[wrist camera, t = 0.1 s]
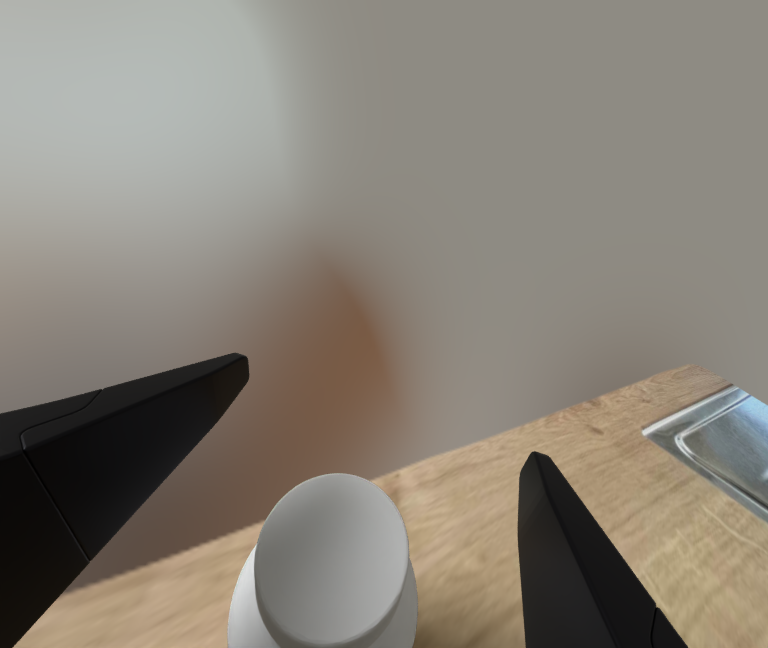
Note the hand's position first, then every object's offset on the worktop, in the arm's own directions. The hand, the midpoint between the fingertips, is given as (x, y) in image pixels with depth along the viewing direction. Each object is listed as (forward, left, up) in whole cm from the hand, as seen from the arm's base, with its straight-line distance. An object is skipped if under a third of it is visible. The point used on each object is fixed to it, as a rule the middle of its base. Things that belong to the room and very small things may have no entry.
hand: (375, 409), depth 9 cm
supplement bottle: (-2, 0, -17) cm, 17 cm away
